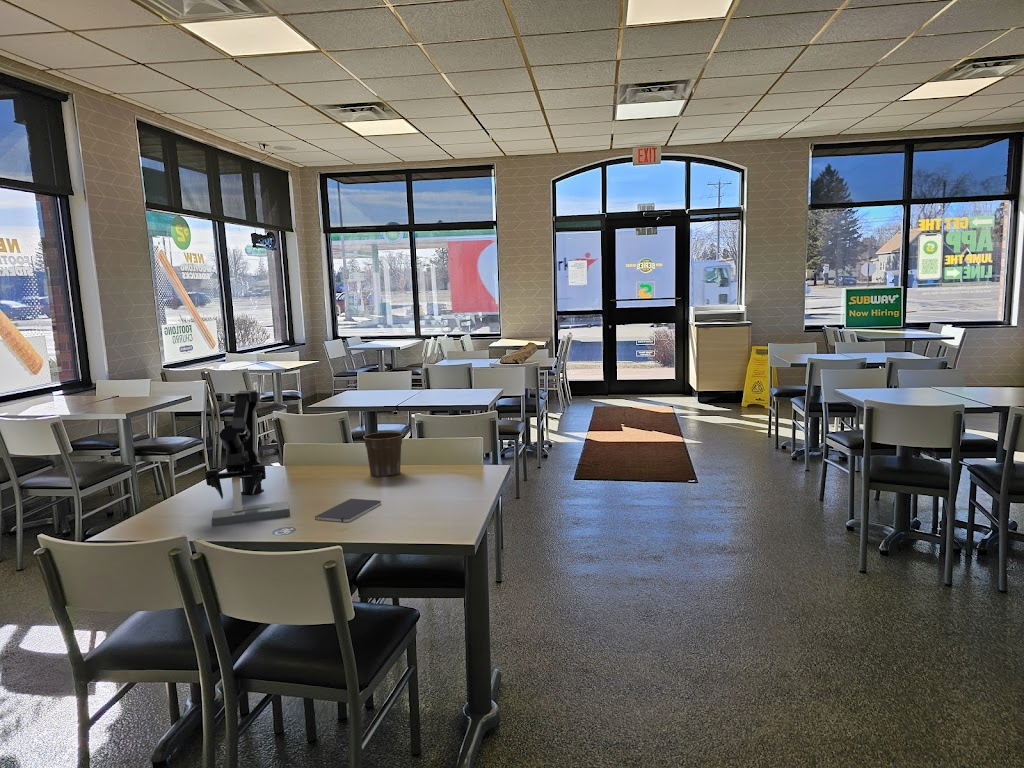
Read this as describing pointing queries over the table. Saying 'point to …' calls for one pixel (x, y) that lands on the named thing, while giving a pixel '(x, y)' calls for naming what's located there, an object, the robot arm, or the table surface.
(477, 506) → the table surface
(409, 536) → the table surface
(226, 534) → the table surface
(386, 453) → the plant pot
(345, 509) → the notebook
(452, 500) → the table surface
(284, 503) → the switch housing
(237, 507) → the slide lever
